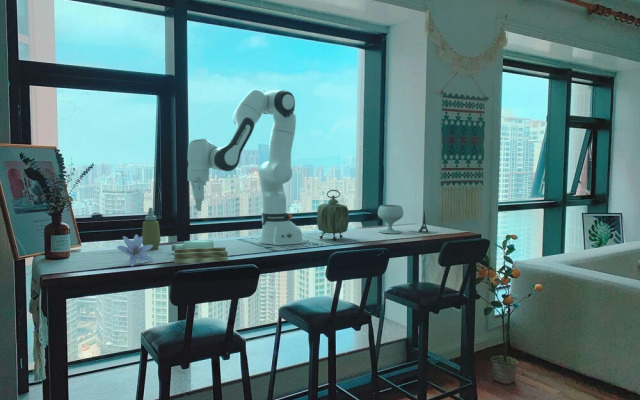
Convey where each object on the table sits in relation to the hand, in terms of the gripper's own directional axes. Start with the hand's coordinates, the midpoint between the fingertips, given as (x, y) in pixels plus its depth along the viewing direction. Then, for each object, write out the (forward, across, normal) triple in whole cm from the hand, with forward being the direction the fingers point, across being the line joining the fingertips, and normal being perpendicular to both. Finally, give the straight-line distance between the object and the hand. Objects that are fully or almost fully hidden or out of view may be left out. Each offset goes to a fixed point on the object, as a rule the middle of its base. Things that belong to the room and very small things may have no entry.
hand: (198, 209), depth 206 cm
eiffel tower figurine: (+18, +32, -124) cm, 129 cm away
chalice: (+17, +33, -104) cm, 111 cm away
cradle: (+18, -15, 0) cm, 24 cm away
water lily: (+19, -17, +24) cm, 34 cm away
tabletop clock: (+18, +18, -66) cm, 71 cm away
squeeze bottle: (+18, +13, +20) cm, 30 cm away
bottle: (+18, 0, +2) cm, 18 cm away
